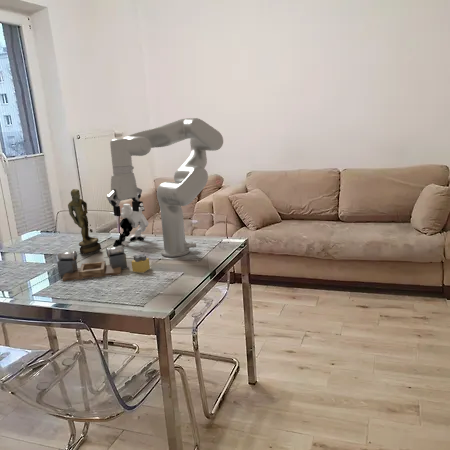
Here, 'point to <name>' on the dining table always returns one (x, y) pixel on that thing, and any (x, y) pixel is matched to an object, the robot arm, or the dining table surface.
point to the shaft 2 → (117, 257)
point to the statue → (82, 223)
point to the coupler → (140, 263)
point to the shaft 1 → (67, 263)
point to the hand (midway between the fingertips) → (126, 213)
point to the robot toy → (132, 224)
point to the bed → (92, 271)
